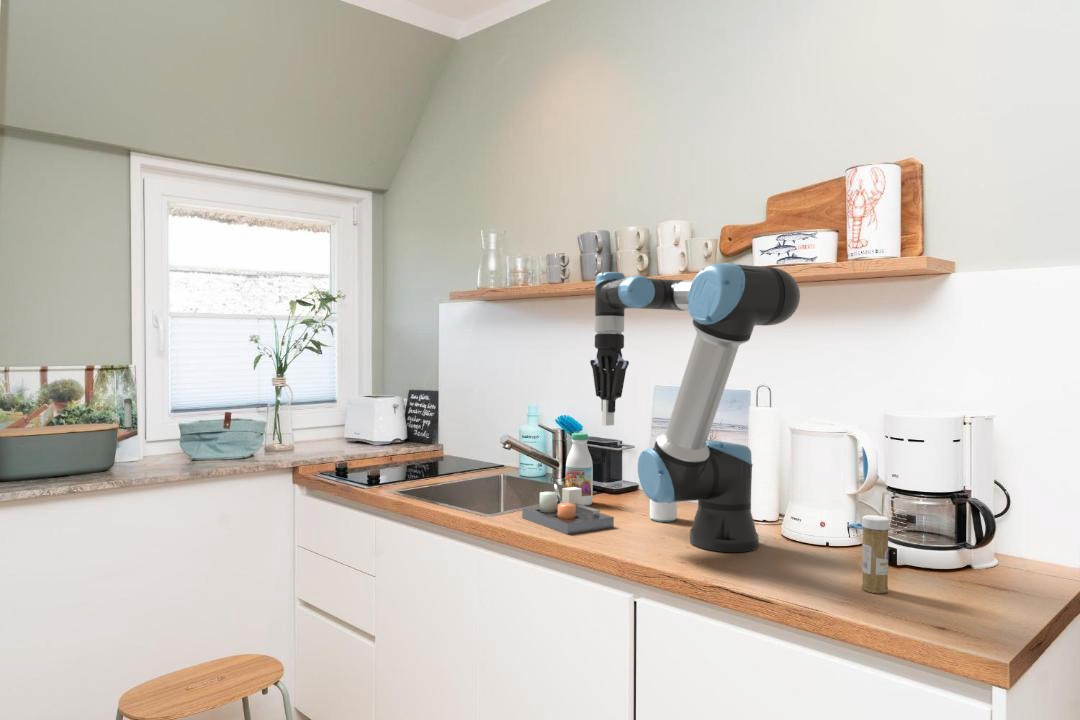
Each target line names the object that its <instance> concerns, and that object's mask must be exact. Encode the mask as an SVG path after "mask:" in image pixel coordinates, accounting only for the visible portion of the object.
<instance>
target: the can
mask: <svg viewBox="0 0 1080 720" xmlns="http://www.w3.org/2000/svg"><path fill="white" fill-rule="evenodd" d="M648 508H649V512H648V513H649V516H648V517H649V518H651V519H652V521H655V522H659V523H660V522H661V523H670V522H671V523H672V522H674V520H677V518H678V502H673V503H657V502H654V501H652V500H651V499H649V507H648Z"/></svg>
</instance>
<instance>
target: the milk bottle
mask: <svg viewBox="0 0 1080 720" xmlns="http://www.w3.org/2000/svg"><path fill="white" fill-rule="evenodd" d="M588 438H589V434H588V433H586V432H585V433H584V432H574V433H573V432H572V433H571V443H572V445H571V448H570V450H569V452H568V455H567V458H566V461H565V462H566V463H565V483H564V484H565V487H564V488H570V487H577V488H581V489H582V502H581V503H577V504H580V505H584V506H590V505H592V503H593V492H594V491H593V490H594V489H593V487H594V485H593V483H594V482H593V481H594V480H593V479H594V477H593V474H594V471H593V469H594V467H593V466H594V465H593V459H592V456H591V453H590V451H589V448H588Z"/></svg>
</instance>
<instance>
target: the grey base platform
mask: <svg viewBox="0 0 1080 720" xmlns="http://www.w3.org/2000/svg"><path fill="white" fill-rule="evenodd" d="M553 488H554V492H556V493H557V512H553V513H544V512H540V505H539V506H537V505H536V506H531V507H530V506H528V507H522V509H521V510H522V511H521V513H522V514H521V518H522V519H524V520H527V521H530V522H533V523H535V524H537V525H541V526H543V527H545V528H546V527H547V528H549V529H552V530H555V531H557V532H559V533H562V534H565V535H572V534H573V535H575V534H578V533H579V534H580V533H586V532H592V531H599V530H604V529H611V528H614V527H615V526H614V525H615V524H614V519H615V517H614V516H611V515H607V514H605V513H602V512H600V509H596V508H593V507H590V506H588V505H586V506H584V505H580V504H577V503H573V504H575V505H576V519H569V520H562V519H559V518H558V504H560V503H564V502H562V497H561V495H560V494H561V493H560V490H559V485H558V484H556V483H555V484H553Z"/></svg>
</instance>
